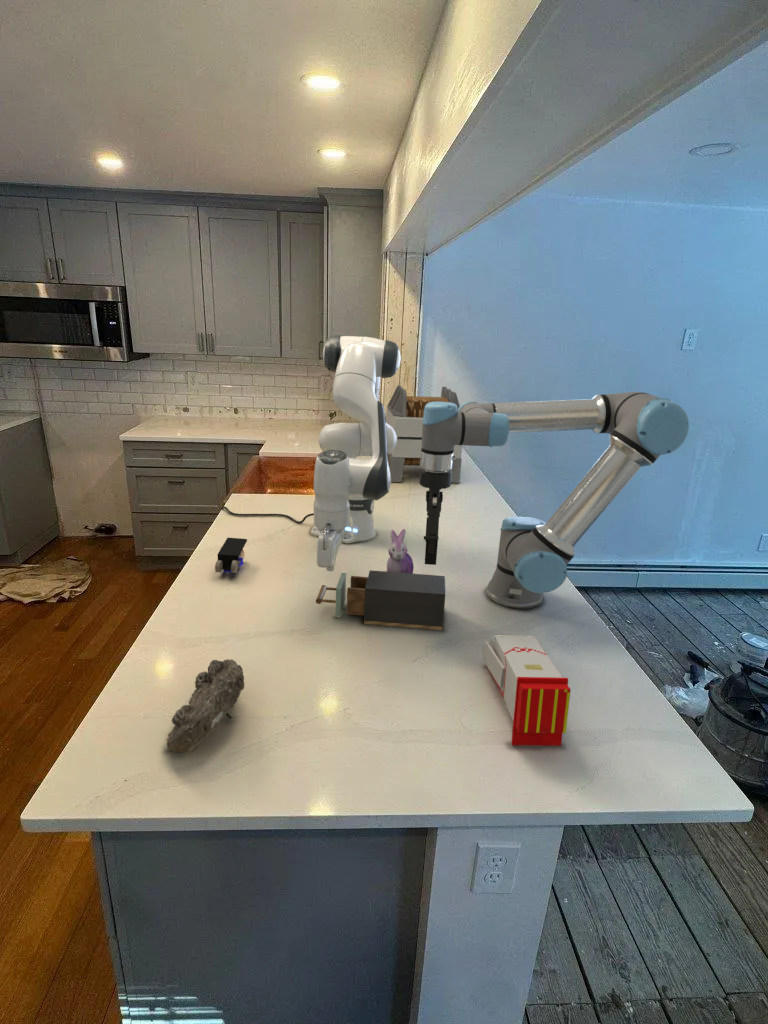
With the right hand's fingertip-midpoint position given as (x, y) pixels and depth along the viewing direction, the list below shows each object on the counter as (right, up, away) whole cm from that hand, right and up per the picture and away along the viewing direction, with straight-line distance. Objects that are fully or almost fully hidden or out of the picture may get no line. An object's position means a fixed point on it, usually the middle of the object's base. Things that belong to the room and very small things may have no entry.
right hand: (430, 552), depth 140 cm
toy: (+16, -29, -23) cm, 40 cm away
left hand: (-25, -4, +4) cm, 25 cm away
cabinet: (-6, -17, +7) cm, 19 cm away
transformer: (+6, +29, +135) cm, 138 cm away
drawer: (-17, -15, +7) cm, 24 cm away
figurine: (-7, -10, +27) cm, 30 cm away
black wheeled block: (-56, -7, +28) cm, 63 cm away
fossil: (-44, -29, -32) cm, 62 cm away
